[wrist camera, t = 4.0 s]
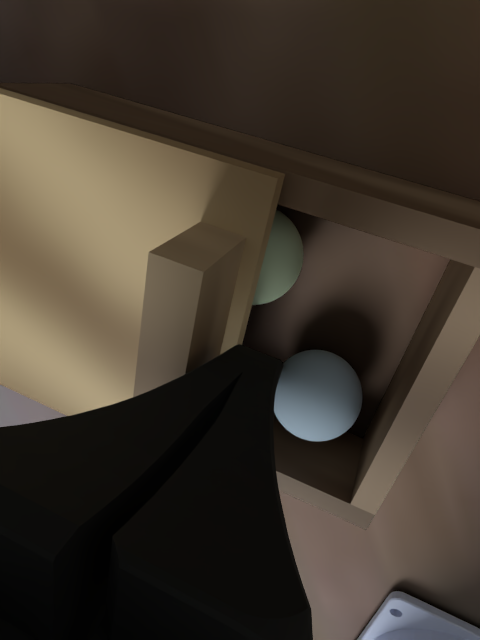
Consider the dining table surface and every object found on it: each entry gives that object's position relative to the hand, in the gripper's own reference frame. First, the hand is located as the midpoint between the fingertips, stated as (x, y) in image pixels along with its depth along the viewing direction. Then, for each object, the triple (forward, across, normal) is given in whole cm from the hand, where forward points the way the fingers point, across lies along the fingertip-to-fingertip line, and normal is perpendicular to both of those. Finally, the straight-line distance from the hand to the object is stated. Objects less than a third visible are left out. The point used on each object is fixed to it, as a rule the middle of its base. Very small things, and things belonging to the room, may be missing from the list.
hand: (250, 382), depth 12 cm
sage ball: (+5, +2, -2) cm, 5 cm away
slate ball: (+5, -2, +2) cm, 5 cm away
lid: (+1, +8, 0) cm, 8 cm away
